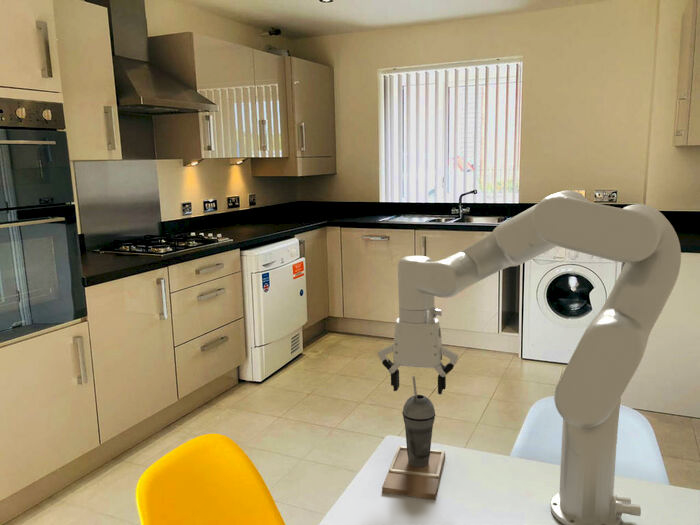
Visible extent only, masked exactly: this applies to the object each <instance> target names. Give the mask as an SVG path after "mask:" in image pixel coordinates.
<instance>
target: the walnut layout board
mask: <svg viewBox="0 0 700 525" xmlns="http://www.w3.org/2000/svg"><path fill="white" fill-rule="evenodd" d="M445 460H446V451H445V450H440V449H431V448H430V457H429V463H428V465H427V466H424V467H414V466H412V465H410V464H409V462H408V454H407V446H405V445H404V446H403V445H398V446H397V448H396V451H395V453H394V456H393V458H392V461H391V463H390V466H389V468H388V472H387V474H386V477H385V479H384V482H383V484H382V487H381V491H382V492H381V493H384V494H391V495H396V496H397V495H399V496H405V497H414V498H421V499H427V500H436V498H437V495H438V494H437V493H438V489H439V485H440V483H441V482H440V480H441V477H442V473H443V467H444V464H445Z"/></svg>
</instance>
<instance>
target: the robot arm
mask: <svg viewBox="0 0 700 525" xmlns="http://www.w3.org/2000/svg"><path fill="white" fill-rule="evenodd" d="M679 239H680V238H679V236H678V235H677V232H676V231H675V228H674V226H673V225H672V224H671V222H670V221H669V219H667V218H666V216H665V215H664V214H663V213H662V212H661V211H659V210H658V209H657V208H656V207H655V208H654V207H653V206H650V205H647V204H644V203H636V204H630V205H627V206H624V207H623V208H621V207H615V206H611V205H607V204H606V205H605V204H602V203H597V202H592V201H589V200H588V199H587V197H586V196H584V195H583V194H582V193H580V192H578V191H575V190H562V191H558V192H555V193H552V194H549V195H548V196H545V197H544V198H543V199H541V200H540V201H539V202H537V203H536V204H535V205H533V206H531V207H529V208H527V209H526V210H524V211H522V212H520V213H518V214H517V215H514V216H512V217H510V219H508V220H506V221H504V222H502V223H499V225H497V226H496V227H494V229H493V230H492V232H490V233H489V234H488V235H487V236H485V237H483V238H481V239H480V240H478V241H477V242H475V243H473V244H471V245H469V246H468V247H466V248H464V249H462V250H460V251H458V252H456V253H454V254H452V255H449V256H447V257H445V258H443V259H439V260H436V261H433V259H432V258H431V257H429V256H425V255H406V256H404V257H401V258H400V259H399V260H398V262H397V263H398V264H397V284H398V287H397V289H398V291H397V292H398V318H396V320H395V321H396V322H395V324H394V325H395V327H394V332H393V333H394V335H393V344H390V345H389V346H387V347H384V348H382V349H380V350H379V351H378V352H377V356H378V358H379V359H380V361H381V363H382V365H383V366H384V367H385V368H386V369H387V370H388V373H389V374H390V385H391V386H393V392H397V391H398V390H399V387H400V370H399V367H408V368H409V367H410V368H423V369H424V368H426V369H434V370H435V371H436V373H437V374H438V376H437V394H438V395H442V394H443V392H444V391H443V390H446V389H447V388H446V387H447V386H446V385H447V380H446V379H447V378H446V376H447V375H448V374H449V373H450V372H451V371H452V370H453V369H454V367H455V366H456V364H457V362H458V360H459V358H460V356H459V355H458V354H457V353H455V352H453V351H452V350H450V349H448V348H446V347H445V346H443V341H442V330H441V326H440V325H441V324H440V322H439V319H438V318H437V317H442V313H443V312H442V309H438V308H436V305H435V297H437V298H442V299H443V298H444V299H447V298H452V297H454V296H456V295H458V294H460V293H461V292H463V291H465V290H466V289H467V288H470V287H471V286H473V285H475V284H477V283H478V282H480V281H482V280H484V279H487V278H488V277H491V276H492V275H494V274H496V273H498V272H500V271H502V270H504V269H507V268H510V267H518V266H520V265H522V264H525V263H527V262H529V261H531V260H532V259H534V258H536V257H538V256H540V255H542V254H545V253H546V252H548V251H550V250H552V249H554V248H556V247H559V248H562V249H566V250H570V251H573V252H577V253H581V254H586V255H588V256H589V255H590V256H593V257H597V258H601V259H605V260H609V261H612V262H613V261H614V262H617V263H624V264H623V266H622V269H621V271H620V273H619V275H618V277H617V278H616V280H615V283H614V285H613V287H612V289H611V291H610V293H609V295H608V297H607V299H606V301H605V303H604V304H603V305H602V307H601V309H600V311H599V312H598V313H597V315H595V317H593V319H592V320H591V322H590V324H589V325H588V326H587V327H586V329H585V330H584V332H583V334H582V336H581V337H580V340H579V342H578V344H577V346H576V348H575V349H574V351H573V353H572V355H571V357H570V359H569V361H568V363H567V365H566V367H565V369H564V370H563V373H562V375H561V376H560V378H559V380H558V381H557V383H556V386H555V388H554V393H553V400H554V405H555V408H556V410H557V412H558V414H559V416H560V417H561V418H562V428H561V429H562V430H561V431H562V432H561V434H562V435H561V449H560V450H561V452H560V469H559V470H560V473H559V474H560V476H559V492H557V493H556V494H555V495H553V496H552V498H551V500H550V511H551V513H552V514H553V517H555V519H556V520H557V521H559V522H560V523H561V524H563V525H621V522H622V515H623V514H626V515H629V516H635V517H637V516H638V517H641V515H642V514H641V513H642V512H641V506H640V504H634V503H633V504H632V500H631V497H620V496H617V495H616V494H615V491H614V490H615V489H614V488H615V475H616V474H615V472H616V462H617V460H616V459H617V444H618V431H619V422H620V421H619V418H620V409H621V400H622V396H623V394H624V392H625V390H626V389H627V387H628V386H629V383H631V380H632V378H633V376H634V375H635V373H636V371H637V370H638V368H639V365H640V364H641V362H642V359H643V357H644V354H645V351H646V348H647V345H648V341H649V337H650V335H651V332H652V330H653V328H654V326H655V324H656V323H657V321H658V319H659V317H660V315H661V314H662V313H663V312H662V311H663V310H664V308H665V305H666V304H667V301H668V299H669V298H670V296H671V294H672V291H673V289H674V287H675V286H676V283H677V280H678V277H679V274H680V270H681V263H682V251H681V248H682V247H681V243H680V240H679ZM391 353H392V354H393V355H392V356H393V361H391V360H390V358H388V357H387V355H389V354H391ZM443 356H444V357H446V358H447V359H449V362H448V363H447V364H446V365H445V364H444V363H443V362H442V361H443Z"/></svg>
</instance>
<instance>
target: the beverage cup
mask: <svg viewBox="0 0 700 525" xmlns="http://www.w3.org/2000/svg"><path fill="white" fill-rule="evenodd" d="M412 385H413V393H414V395H411V396H410V397H409V398H407V400H406V401H405V403H404V405H403V408H402V409H403V410H402V412H401V413H402V416H403V418H402V419H403V423H404V427H405V429H404V430H405V441H406V447H407V454H408V462H409V464H410V465H412V466H414V467H424V466H427V465H428V463H429V457H430V449H431V448H432V435H433V428H434V423H435V420H436V419H435V417H436V410H435V407H434V403H433V402H432V401H431V399H430V398H429V397H427V396H425V395H423V394H417V393H418V391H417V385H416V377H415V376H414V375H413V376H412Z"/></svg>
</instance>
